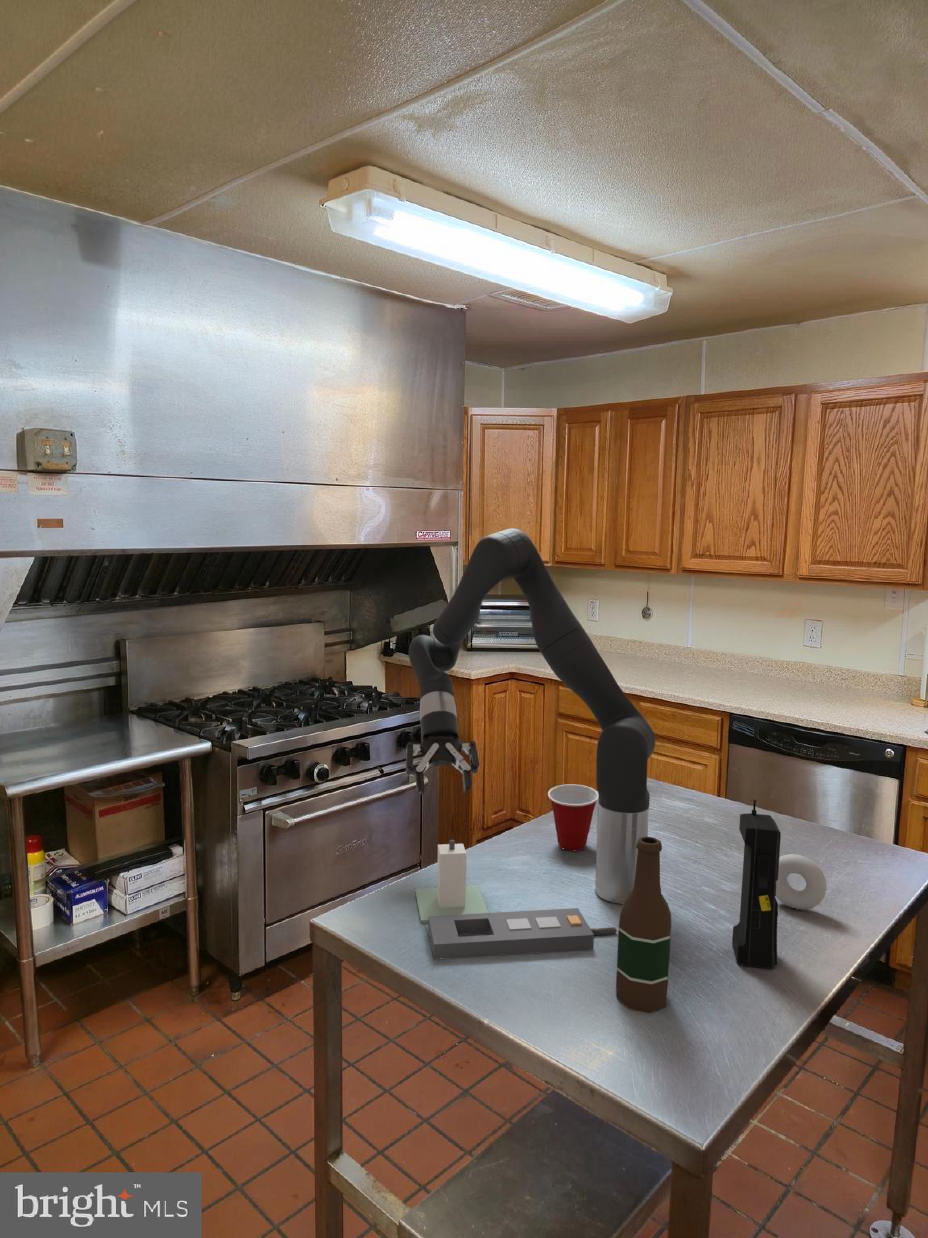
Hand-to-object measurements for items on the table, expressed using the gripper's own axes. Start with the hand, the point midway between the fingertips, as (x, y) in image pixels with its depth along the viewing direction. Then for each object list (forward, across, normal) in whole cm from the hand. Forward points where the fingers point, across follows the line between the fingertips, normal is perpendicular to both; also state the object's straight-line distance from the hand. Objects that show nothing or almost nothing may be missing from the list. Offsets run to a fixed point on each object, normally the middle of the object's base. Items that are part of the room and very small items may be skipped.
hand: (444, 792), depth 151 cm
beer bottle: (+42, +24, -18) cm, 52 cm away
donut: (+26, +62, -2) cm, 67 cm away
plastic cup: (+4, +29, +20) cm, 36 cm away
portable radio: (+37, +46, -12) cm, 60 cm away
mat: (+20, 0, +4) cm, 20 cm away
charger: (+20, 0, +4) cm, 20 cm away
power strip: (+29, +11, -5) cm, 32 cm away
